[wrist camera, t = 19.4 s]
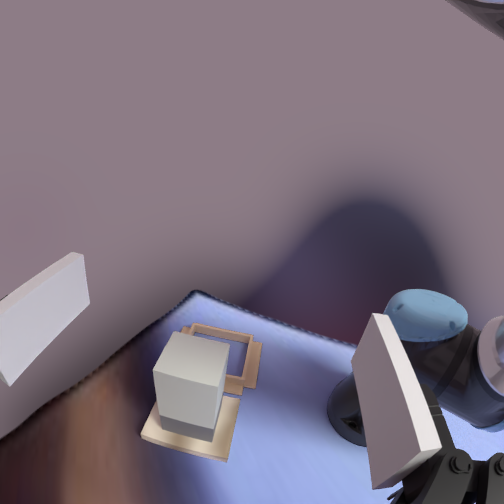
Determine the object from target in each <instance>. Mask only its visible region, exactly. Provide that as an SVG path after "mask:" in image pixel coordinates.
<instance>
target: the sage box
mask: <svg viewBox="0 0 504 504" xmlns="http://www.w3.org/2000/svg"><path fill="white" fill-rule="evenodd" d="M229 349H230V344H229V343H224V342H219V341H214V340H210V339H205V338H201V337H197V336H193V335H188V334H184V333H180V332H176V331H174V332H173V334H172V336H171V337H170V339H169V341H168V343H167V345H166V346H165V348H164V350H163V352H162V354H161V355H160V357H159V359H158V361H157V363H156V365H155V366H154V368H153V376H154V383H155V390H156V397H157V403H158V409H159V415H160V421H161V426H162V429H163V430H166V431H169V432H173V433H176V434H180V435H183V436H187V437H191V438H195V439H199V440H203V441H207V442H212V441H213V437H214V433H215V429H216V425H217V421H218V417H219V414H220V410H221V406H222V399H223V391H224V384H225V377H226V370H227V363H228V356H229Z"/></svg>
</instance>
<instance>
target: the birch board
mask: <svg viewBox="0 0 504 504" xmlns="http://www.w3.org/2000/svg"><path fill="white" fill-rule="evenodd" d="M239 403H240V399H238V398H233V397H228V396H223V399H222V406H221V410H220V414H219V417H218V421H217V425H216V429H215V433H214V437H213V441H212V442H207V441H203V440H199V439H195V438H191V437H187V436H183V435H180V434H176V433H173V432H169V431H166V430H163V429H162V426H161V421H160V415H159V409H158V403H157V400H156V402H155V404H154V406H153V408H152V411H151V413H150V415H149V417H148V419H147V421H146V423H145V425H144V427H143V430H142V432H141V437H142V439H144V440H147V441H150V442H153V443H156V444H159V445H162V446H165V447H168V448H171V449H175V450H178V451H182V452H185V453H189V454H193V455H196V456H200V457H205V458H209V459H213V460H218V461H223V462H227V460H228V456H229V451H230V446H231V442H232V437H233V432H234V427H235V423H236V418H237V413H238V408H239Z"/></svg>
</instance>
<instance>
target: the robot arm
mask: <svg viewBox="0 0 504 504" xmlns="http://www.w3.org/2000/svg"><path fill="white" fill-rule="evenodd" d="M446 1H447V2H448V3H450V4H451V5H452V6H454V7H455V8H457V9H458V10H460V11H461V12H463V13H464V14H466V15H467V16H468V17H470V18H471V19H472V20H474V21H475V22H477V23H478V24H480V25H481V26H483V27H484V28H486V29H487V30H489V31H490V32H492V33H494V34H495V35H497V36H498V37H500V38H501V39H503V40H504V0H446ZM89 304H90V300H89V294H88V287H87V280H86V272H85V264H84V256H83V254H79V253H75V252H71V253H70V254H68V255H67V256H65V257H63V258H62V259H60V260H59V261H57V262H56V263H54V264H52V265H51V266H49V267H48V268H46V269H45V270H43V271H42V272H40V273H39V274H37V275H36V276H34V277H33V278H32V279H30V280H29V281H28V282H26V283H24V284H23V285H22V286H20V287H19V288H17V289H16V290H15V291H14V292H12V293H11V294H9V295H6V296H5V297H4V298H3V299H1V300H0V379H1V380H2V381H3V382H5V383H6V384H7V385H8V386H11V385H12V384H13V383H14V381H15V380H16V379H17V378H18V377H19V376H20V374H21V373H22V372H23V371H24V370H25V369H26V368H27V367H28V366H29V365H30V364H31V363H32V362H33V360H34V359H35V358H36V357H37V356H38V355H39V354H40V353H41V352H42V351H43V350H44V348H46V347H47V346H48V345H49V344H50V343H51V341H52V340H53V339H54V338H55V337H56V336H57V335H58V334H59V333H60V332H61V331H62V330H63V329H64V328H65V327H66V326H67V325H68V324H69V323H70V322H71V321H72V320H74V319H75V318H76V317H77V316H78V315H79V313H81V312H82V311H83V310H84V309H85V308H86V307H87V306H88V305H89ZM467 317H468V315H467V312H466V310H465V309H464V308H463V307H462V305H460V304H458V303H456V301H455V300H454V299H452V298H450V297H448V296H446V295H443V294H440V293H437V292H433V291H429V290H423V289H409V290H404V291H401V292H399V293H397V294H396V295H394V296H393V297H392V298H391V300H390V301H389V303H388V305H387V307H386V309H385V311H384V313H383V314H376V313H372V316H371V318H370V320H369V323H368V325H367V327H366V329H365V332H364V334H363V336H362V338H361V341H360V343H359V345H358V347H357V349H356V351H355V353H354V355H353V357H352V360H351V364H352V368H353V372H352V373H351V374H350V375H349V376H348V377H346V378H345V379H344V380H342V381H341V382H340V383H339V384H338V385H337V386H336V387H335V389H334V391H333V392H332V394H331V396H330V398H329V401H328V405H327V411H328V416H329V419H330V421H331V424H332V425H333V427H334V428H335V429H336V431H337V432H338V433H339V434H340V435H341V436H343V437H344V438H345V439H347V440H348V441H350V442H352V443H355V444H357V445H361V446H366V447H367V450H368V457H369V464H370V472H371V481H372V490H374V489H382V488H389V487H393V486H394V485H396V484H397V483H399V482H400V481H401V480H402V483H403V487H402V488H401V489H399V490H398V491H396V492H395V493H393V494H391V495H390V496H389V497H388V498H387V500H390V499H392V498H394V499H393V500H392V502H391V503H390V504H474V503H476V504H504V453H496V454H494V455H493V456H492V457H491V458H489V459H488V460H487V461H476V460H472V459H471V457H470V456H469V454H468V453H466V452H465V451H464V450H460V449H456V448H455V446H454V443H453V440H452V437H451V435H450V432H449V429H448V426H447V424H446V421H445V418H444V416H442V411H441V408H443V409H445V410H447V411H449V412H450V413H452V414H454V415H456V416H458V417H460V418H461V419H463V420H465V421H467V422H469V423H470V424H471V425H472V426H473V427H475V428H477V429H481V430H485V431H487V432H498V431H501V430H503V429H504V316H498V317H495V318H493V319H492V320H490V321H489V322H488V323H487V324H486V325H485V327H484V328H483V329H482V331H480V330H478V329H476V328H474V327H472V326H470V325H468V324H467ZM439 406H440V407H441V408H440V407H439Z"/></svg>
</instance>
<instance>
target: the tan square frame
mask: <svg viewBox="0 0 504 504" xmlns="http://www.w3.org/2000/svg"><path fill="white" fill-rule="evenodd" d="M195 332H197V333H202V334H206V335H210V336H215V337H219V338H224V339H229V340H233V341H238V342H243V343H249V345H248V349H247V354H246V359H245V364H244V369H243V373H242V377H239V376H234V375H229V374H226V377H225V384H224V391H223V392H225V393H230V394H235V395H240V396H242V391H243V387H246V388H251V389H255V388H256V382H257V375H258V368H259V362H260V355H261V348H262V343H260V342H254V341H253V335H251V334H246V333H240V332H235V331H231V330H226V329H221V328H217V327H212V326H208V325H203V324H199V323H193V324H192V326H191V328H189V327H185V326H184V327H183V329H182V330H181V332H180V333H184V334H188V335H194V333H195Z"/></svg>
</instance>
